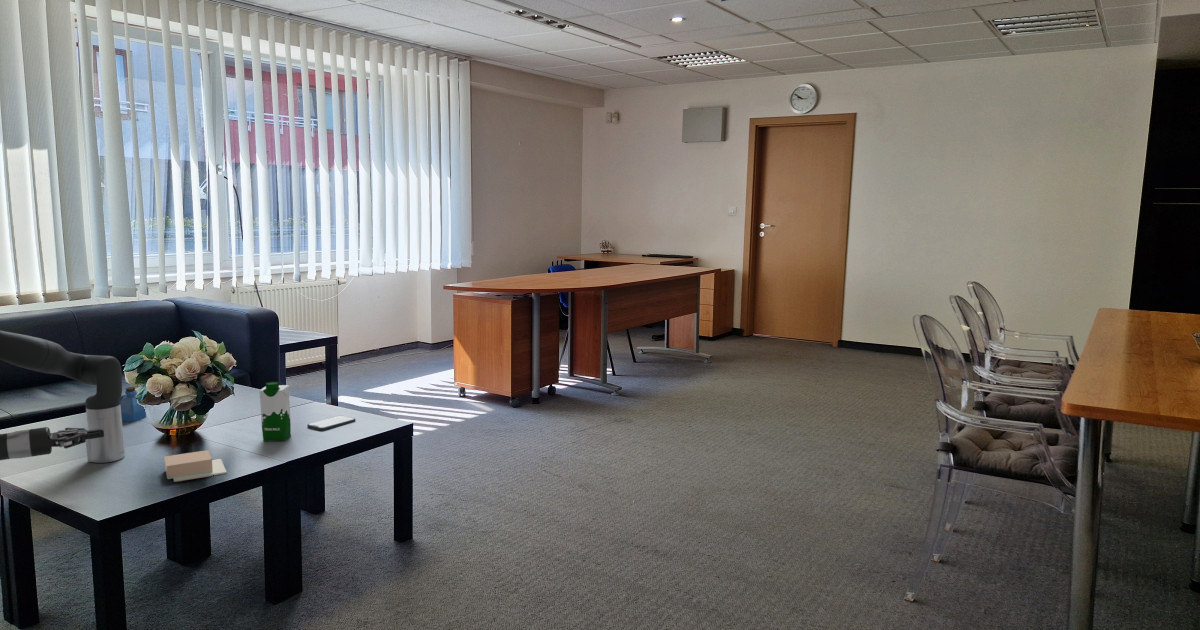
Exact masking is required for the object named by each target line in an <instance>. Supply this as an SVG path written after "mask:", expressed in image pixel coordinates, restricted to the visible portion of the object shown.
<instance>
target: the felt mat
mask: <svg viewBox="0 0 1200 630" xmlns="http://www.w3.org/2000/svg"><path fill="white" fill-rule="evenodd" d="M212 468H213V472H209V473H203V474H197V475H191V476H184V477H178V478H172V479H173V482H174V483H175V482H183V481H188V480H194V479H200V478H207V477H214V476H218V475H225V474H227V473H228V472H227V469H226V467H225V465H224V462H223V460H222V458H218V459H212ZM213 475H214V476H213Z"/></svg>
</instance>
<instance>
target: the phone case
mask: <svg viewBox="0 0 1200 630" xmlns="http://www.w3.org/2000/svg"><path fill="white" fill-rule="evenodd" d="M355 422H356V418H354V417H350V416H346V415H338V416H334V417H330V418H327V419H321V420H318V421H315V422H311V423H308V424H307V427H306V428H307V429H310V430H313V431H314V430H315V431H317V432H325V431H328V430H331V429H335V428H338V427H342V426H345V425H348V424H352V423H355Z"/></svg>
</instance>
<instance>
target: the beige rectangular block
mask: <svg viewBox="0 0 1200 630" xmlns="http://www.w3.org/2000/svg"><path fill="white" fill-rule="evenodd" d="M163 459H164V470H165V474H166V478H167V480H171V479H173V478H178V477H184V476H191V475H197V474H203V473H209V472H213V468H212V460H213V458H212V456H211V454H210V452H209V450H208V449H206V450H199V451H193V452H186V453H180V454H179V453H178V454H173V455H167V456H165V455H164V456H163Z"/></svg>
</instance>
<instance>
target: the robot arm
mask: <svg viewBox="0 0 1200 630" xmlns="http://www.w3.org/2000/svg"><path fill="white" fill-rule="evenodd" d="M0 361H3V362H5V363H8V364H10V365H13V366H15V367H19V368H23V369H25V370H30V371H34V372H38V373H42V374H43V373H44V374H49V375H58V376H59V375H60V376H64V377H66V378H69V379H72V380H74V381H77V382H80V383H82V384H85V385H90V386H91V385H93V386H96V391H95V394H94V395H91V396H88V397H87V398H86V399H85V403H84V404H85V412H86V414H85V415H86V422H87V423H86V425H87V429H86V428H85V427H66V428H64V429H60V430H58V431H56V432H51V430H50V428H49V427H47V426H45V427H44V426H43V427H38V428H30V429H22V430H15V431H11V432H8V433H0V461H4V460H12V459H13V460H14V459H25V458H32V457H38V456H46V455H51V453H52V451H53V448H56V447H57V448H58V447H59V448H63V449H69V448H72V447H75V446H79V445H81V444H82V445H83V444H85V446H86V448H85V449H86V457H87V458H86V459H87V463H94V464H95V463H97V464H103V463H111V462H116V461H119V460H121V459H123V458H125V456H126V453H125V442H124V430H123V421H122V417H121V405H120V400H121V399H122V395H123V375H122V374H123V373H122V366H121V363H120V361H119V360H118V358H116V356H111V355H97V354H82V353H77V352H76V353H75V352H71V351H68V350H67V349H65V347H63V346H62V345H61V344H59V343H56V342H55V341H51V340H48V339H45V338H40V337H36V336H31V335H27V334H23V333H22V334H21V333H17V332H16V333H15V332H10V331H4V330H0Z"/></svg>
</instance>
